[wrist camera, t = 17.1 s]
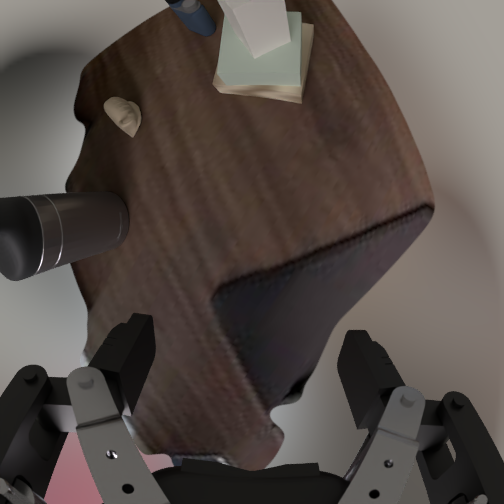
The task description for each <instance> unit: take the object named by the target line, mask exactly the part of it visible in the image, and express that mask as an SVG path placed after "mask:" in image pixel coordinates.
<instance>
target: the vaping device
mask: <svg viewBox="0 0 504 504" xmlns="http://www.w3.org/2000/svg"><path fill="white" fill-rule="evenodd" d="M165 1H166V2H167V3H168V4H169V6H170V8H172V10H173V11H174V12H175V13H176V14H177V15H178V17H179V18H180V19H181V20H182V21H183V23H184V24H185V25H186V26H187V27H188V29H189V30H191V31H194V32H196V33H199V34H201V35H203V36H210V35H212V34H213V33H214V32H215V30H216V25H215V23H214V21H213V20H212V18H211V17H210V15H209V13H208V12H207V10H206V9H205V7H204V6H203V5H201V4H200V2H199V1H197V0H165Z"/></svg>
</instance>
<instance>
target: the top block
mask: <svg viewBox="0 0 504 504" xmlns="http://www.w3.org/2000/svg"><path fill="white" fill-rule="evenodd" d="M286 13H287V19H288V25H289V32H290V39H291V42H289V43H286V44H284V45H282V46H280V47H278V48H276V49H274V50H272V51H269V52H267V53H265V54H263V55H261V56H260V57H258V58H256V59H254V57H253V56H252V55H251V53H250V52H249V51H248V49H247V48H246V47H245V46H244V44H243V43H242V42H241V40H240V39H239V38H238V37H237V35H236V34H235V32H234V30H233V29H232V27H231V25H230V23H229V21H228V19H227V17H226V15H225V16H224V23H223V30H222V37H221V45H220V53H219V61H218V69H217V74H218V76H219V77H220V78H221V79H222V81H223V82H224V83H225V84H226V86H230V85H280V86H300V87H301V64H302V19H301V12H286Z"/></svg>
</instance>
